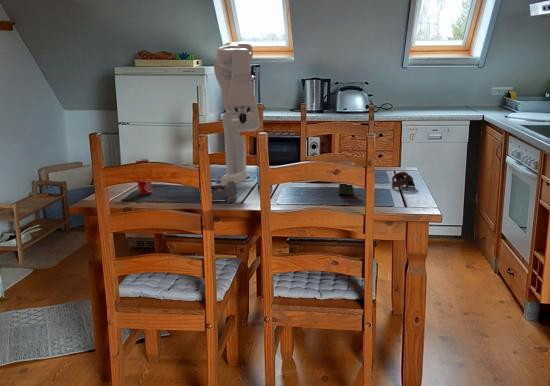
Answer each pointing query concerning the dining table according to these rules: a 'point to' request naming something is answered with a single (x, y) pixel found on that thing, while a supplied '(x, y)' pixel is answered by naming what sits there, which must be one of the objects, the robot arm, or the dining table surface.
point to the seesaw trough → (233, 178)
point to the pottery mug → (402, 180)
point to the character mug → (344, 187)
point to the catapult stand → (232, 192)
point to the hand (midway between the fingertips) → (242, 123)
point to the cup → (218, 192)
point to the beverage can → (144, 186)
